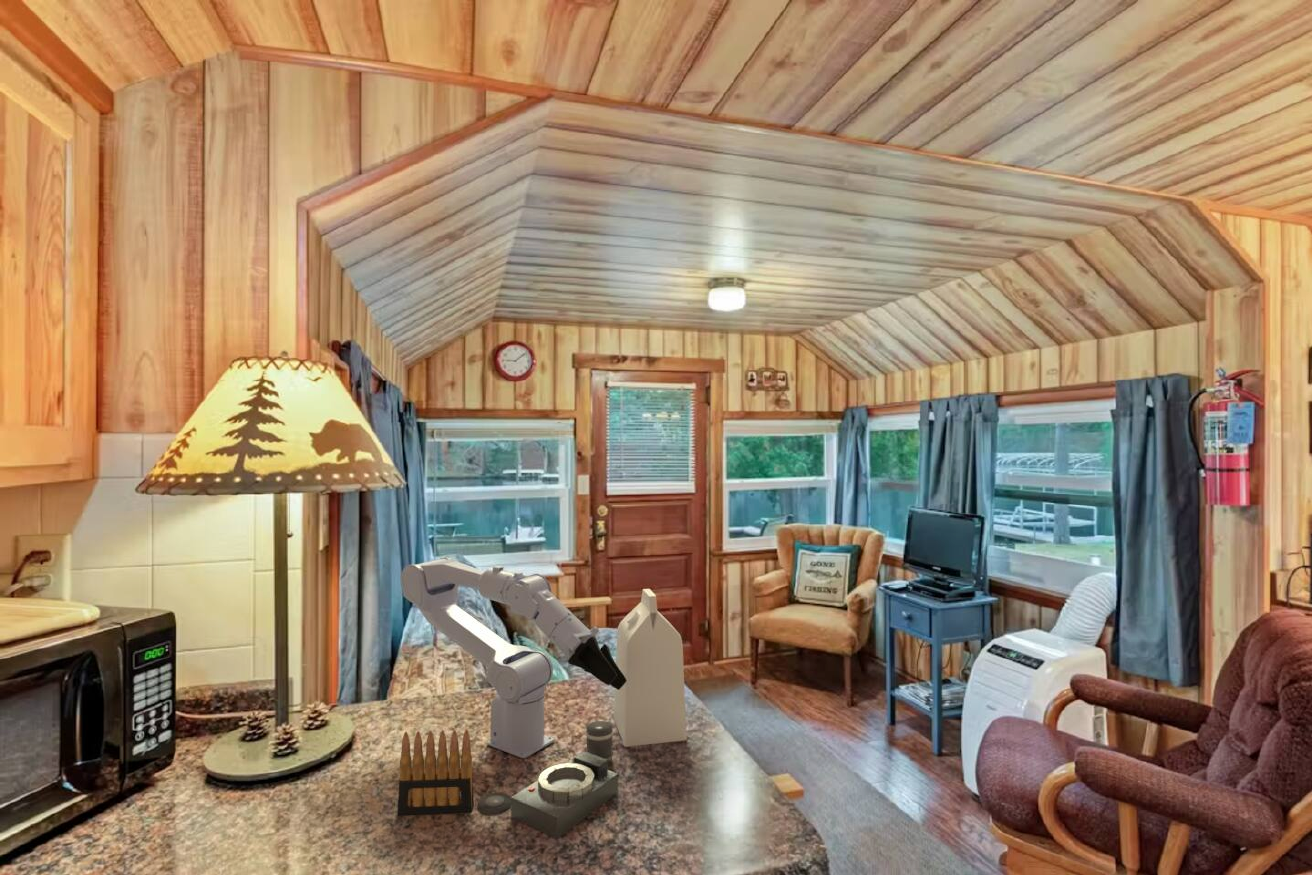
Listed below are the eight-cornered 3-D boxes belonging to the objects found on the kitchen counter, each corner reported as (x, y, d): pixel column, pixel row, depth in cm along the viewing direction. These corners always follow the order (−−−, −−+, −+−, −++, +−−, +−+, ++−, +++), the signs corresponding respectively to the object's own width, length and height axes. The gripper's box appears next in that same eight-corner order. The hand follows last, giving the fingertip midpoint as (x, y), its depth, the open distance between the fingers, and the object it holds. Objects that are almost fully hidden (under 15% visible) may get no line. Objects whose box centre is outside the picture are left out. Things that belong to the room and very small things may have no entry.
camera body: (511, 817, 95) (511, 786, 95) (574, 775, 107) (574, 747, 107) (556, 838, 90) (557, 805, 90) (618, 792, 102) (618, 763, 102)
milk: (686, 740, 120) (687, 598, 119) (624, 746, 117) (625, 602, 117) (670, 712, 131) (670, 583, 131) (613, 718, 129) (614, 586, 128)
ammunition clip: (474, 805, 98) (474, 726, 98) (471, 813, 96) (471, 732, 96) (401, 808, 97) (401, 728, 97) (397, 816, 96) (397, 734, 96)
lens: (580, 763, 111) (580, 728, 111) (597, 752, 115) (597, 718, 115) (601, 771, 108) (601, 735, 108) (618, 759, 112) (618, 725, 112)
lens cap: (470, 809, 98) (470, 803, 98) (495, 794, 102) (495, 787, 102) (493, 820, 95) (493, 813, 95) (518, 804, 99) (518, 798, 99)
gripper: (566, 600, 108) (625, 657, 102) (588, 617, 120) (641, 669, 115) (536, 634, 106) (594, 693, 100) (562, 647, 119) (614, 701, 113)
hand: (617, 682), depth 108 cm, fingers open, 7 cm apart
